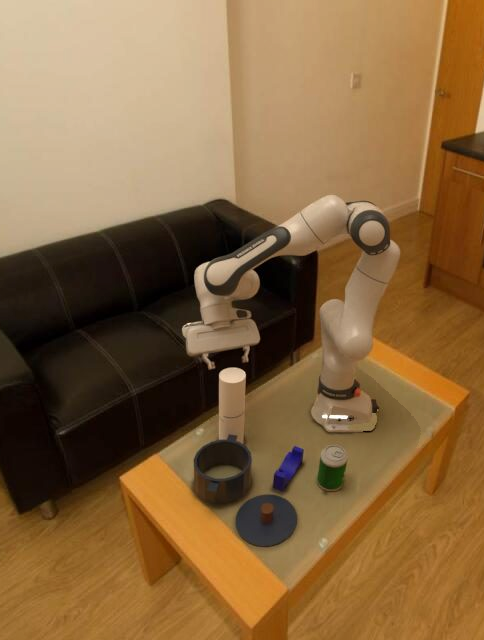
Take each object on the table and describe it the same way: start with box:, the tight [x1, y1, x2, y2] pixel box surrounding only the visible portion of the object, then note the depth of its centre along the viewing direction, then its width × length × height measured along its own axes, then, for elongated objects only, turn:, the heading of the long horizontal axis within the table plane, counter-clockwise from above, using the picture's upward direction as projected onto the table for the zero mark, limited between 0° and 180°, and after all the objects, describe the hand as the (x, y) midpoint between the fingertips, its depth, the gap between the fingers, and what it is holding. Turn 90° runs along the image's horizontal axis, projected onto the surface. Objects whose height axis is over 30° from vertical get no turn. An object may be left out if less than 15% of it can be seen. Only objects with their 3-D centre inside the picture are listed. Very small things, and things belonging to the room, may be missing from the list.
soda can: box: [316, 444, 349, 492], centre depth 138 cm, size 8×8×12 cm
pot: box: [193, 434, 253, 506], centre depth 132 cm, size 15×20×10 cm
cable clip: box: [272, 445, 305, 493], centre depth 139 cm, size 12×4×6 cm, turn 160°
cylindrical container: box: [218, 367, 247, 445], centre depth 143 cm, size 7×7×25 cm
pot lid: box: [235, 493, 298, 548], centre depth 126 cm, size 15×15×5 cm
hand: (229, 365), depth 138 cm, fingers open, 8 cm apart
